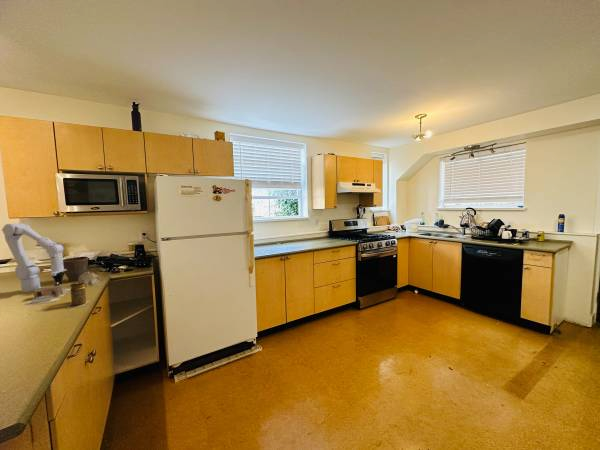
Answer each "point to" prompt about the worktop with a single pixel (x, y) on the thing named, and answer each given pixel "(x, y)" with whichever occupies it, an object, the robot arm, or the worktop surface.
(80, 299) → the condiment
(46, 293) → the block
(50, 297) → the slider frame
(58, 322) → the worktop surface
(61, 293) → the tunnel deck
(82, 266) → the plant pot
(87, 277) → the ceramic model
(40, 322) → the worktop surface
